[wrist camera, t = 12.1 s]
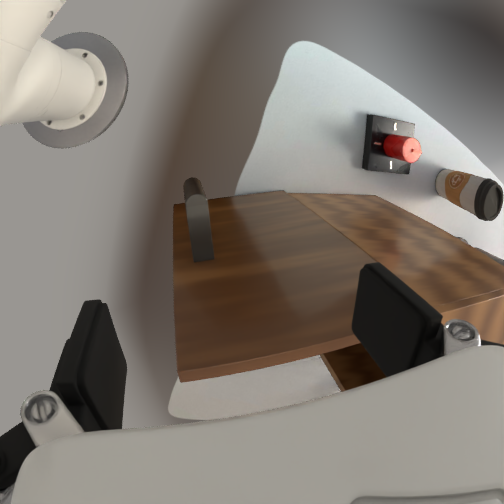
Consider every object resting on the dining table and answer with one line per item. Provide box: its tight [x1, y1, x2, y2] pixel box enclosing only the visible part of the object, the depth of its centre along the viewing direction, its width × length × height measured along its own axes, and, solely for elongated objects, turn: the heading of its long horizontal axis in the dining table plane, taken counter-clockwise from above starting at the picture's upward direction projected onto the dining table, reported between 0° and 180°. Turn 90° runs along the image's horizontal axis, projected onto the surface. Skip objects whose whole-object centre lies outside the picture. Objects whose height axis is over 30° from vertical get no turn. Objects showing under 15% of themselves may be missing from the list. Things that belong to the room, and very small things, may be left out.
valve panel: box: [362, 114, 415, 174], centre depth 52 cm, size 10×10×2 cm
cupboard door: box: [173, 178, 376, 382], centre depth 33 cm, size 8×18×36 cm, turn 93°
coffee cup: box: [435, 169, 503, 221], centre depth 52 cm, size 8×8×15 cm
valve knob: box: [384, 134, 422, 163], centre depth 48 cm, size 4×4×6 cm
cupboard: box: [288, 193, 504, 392], centre depth 42 cm, size 18×18×36 cm
